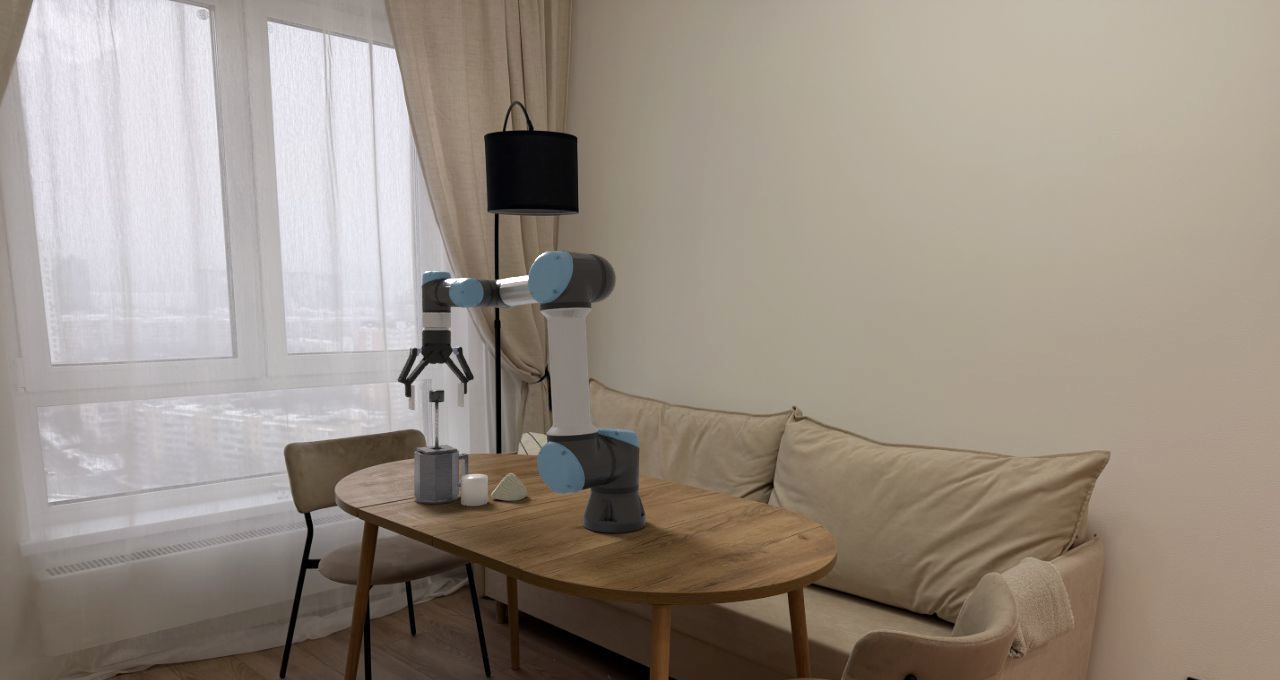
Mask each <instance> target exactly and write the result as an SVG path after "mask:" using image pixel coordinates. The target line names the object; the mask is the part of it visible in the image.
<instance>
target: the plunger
mask: <svg viewBox="0 0 1280 680" xmlns="http://www.w3.org/2000/svg"><path fill="white" fill-rule="evenodd" d="M428 403H434V446H435V449H439V445H440V443H439V441H440V439H439V437H440V436H439V435H440V434H439V431H440V430H439V425H440V421H439V416H440V414H439V413H440V412H439V410H440V409H439V405H440V403H445V390H444V389H429V390H428ZM435 455H438V454H435Z"/></svg>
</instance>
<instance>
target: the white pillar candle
mask: <svg viewBox="0 0 1280 680" xmlns="http://www.w3.org/2000/svg"><path fill="white" fill-rule="evenodd" d="M488 479H489V477H488V475H487V474H483V473H468V475H463V476H462V475H461V476H460V482H461V487H460V504H461V505H462V506H465V505H466V506H467V507H478V506H485V505H487V503H488V497H489V496H488V494H489V493H488V492H489V491H488V484H489V482H488ZM488 504H489V503H488Z"/></svg>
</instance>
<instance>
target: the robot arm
mask: <svg viewBox="0 0 1280 680" xmlns="http://www.w3.org/2000/svg"><path fill="white" fill-rule="evenodd" d="M421 282H422V283H421V286H420V287H421V311H422V313H421V316H422V317H421V318H422V319H421V321H422V322H421V323H422V324H421V327H422V328H423V330H422V331H421V345H422V346H421V348H418V347H413V346H412V347H410V349H409V355H408V357H407V359H406V362H405V364H404V366H403V367H402V370H401V372H400V373H399V376H398V378H397V382H398V383H400V384H403V385H404V396H405V397H406V398H408V410H411V411H415V410H416V409H415V408H416V404H415V401H416V400H415V397H416V396H415V395H416V393H415V392H416V390H415V389H416V388H415V387H416V385H415V384H413V383H414V382H415V381H416V379H417V378H418V377H419V375H420V374H421V373H422V372H423V370H425V368H426V367H427V366H429V364H430V365H436V364H441V365H442V364H446V366H447V367H448V368H449V369H450V370H451V371H452V372H453V374H454V375H455V376H456V378H457V379H459V381H458V382H457V407H461V408H463V407H465V395H467V393H468V383H469V382H470V381H473V380H474V379H475V376H474V375H473V372H472V370H471V368H470V366H469V364H468V362H467V360H466V358H465V356H464V349H463V347H462V346H455V347H452V331H451V330H450V328H451V327H452V314H451V313H452V308H463V309H464V308H466V309H467V308H498V309H499V308H500V309H508V308H515V307H516V306H522V305H531V304H539V312H540V314H541V315H543V316H544V317H545V319H546V320H547V334H548V335H547V337H548V338H547V339H548V355H549V372H550V373H549V374H550V391H551V392H550V395H551V411H552V412H551V413H552V414H551V416H552V426H551V427H550V428H549V429H548V431H547V432H546V443H545V444H544V445H543V446H541V447H540V449H539V451H538V453H537V458H536V465H537V470H538V473H539V477H540V478H541V480H542V482H543V483H544V484H546V486H547V488H548V489H550V490H551V491H553V492H555V493H557V494H561V495H564V494H570V493H571V494H572V493H573V494H576V493H578V492H581V491H583V490H585V491H586V490H588V489H589V490H590V491H589V495H588V498H587V502H586V505H585V508H584V512H583V514H582V526H583V527H584V528H585V529H587V530H590V531H594V532H599V533H609V534H610V533H613V534H614V533H615V534H617V533H629V532H635V531H639V530H641V529H643V528H645V527H646V525H647V524H646V523H647V520H646V519H647V516H646V512H645V508H644V504H643V501H642V498H641V495H640V490H639V489H640V487H639V486H640V450H641V447H640V437H639V435H638V433H637V432H635V431H634V430H630V429H629V430H628V429H622V428H612V427H596V426H595V425H593V423H592V419H591V402H590V401H591V400H590V399H591V398H590V396H591V395H590V383H589V381H590V380H589V365H588V364H589V361H588V341H587V327H586V326H587V325H586V323H587V322H586V318H587V316H588V314H590V312H591V311H592V310H593V309H592V304H597V303H601V302H603V301H605V300H606V299H608V298H609V297H610V296H611V294H612V293H613V291H614V289H615V287H616V283H617V275H616V271H615V268H614V267H613V265H612V264H611V262H610V261H609V259H606V258H605V257H603V256H601V255H599V254H594V253H583V252H576V251H575V252H574V251H569V250H568V251H567V250H548V251H545V252H543V253H541V254H540V255H539V256H538V257H536V258H535V260H534V262H533V263H532V264H531V266H530V268H529V271H528V274H527V275H521V276H515V277H508V278H501V279H484V278H483V279H480V278H473V277H472V278H471V277H460V278H459V277H458V278H452V275H451V273H450V272H449V271H440V270H439V271H436V270H435V271H434V270H433V271H430V270H429V271H425V272H423V273H422V281H421ZM452 353H453V354H454V356H455V357H456V360H457V361H458V363H459V366H460V368H461V370H462V371H461V370H460V369H459V367H458V366H457V364H455V363H454V361H453V359H452V358H451V355H452ZM420 354H421V356H423V357H422V359H421V360H420V361H419V363H418V364H417V365H416V367H415V368H414V369H413V370H412V367H413V366H414V363H415V361H416V359H417V357H418V356H419V355H420ZM411 370H412V371H411ZM410 372H411V373H410Z"/></svg>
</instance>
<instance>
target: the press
mask: <svg viewBox="0 0 1280 680" xmlns="http://www.w3.org/2000/svg"><path fill="white" fill-rule="evenodd" d="M435 454H438V455H435ZM413 456H414V462H413V463H414V465H413V466H414V467H413V468H414V490H413V492H414V495H413V496H414V497H415V498H414V499H415V502H416V503H418V504H424V505H440V504H441V505H443V504H448V503H453V502H455V501H457V500H458V499H459V495H460V488H461V481H460V461H461V476H463V475H468V474H469V454H468V453H466V452H464V453H463V452H462V453H461V454H460V450H459V449H458V448H455V447H453V446H451V445H449V444H442V445H440V444H439V449H435V445H429V446H427V445H426V446H421V447H418V446H417V447H416V450H415V451H414V455H413Z"/></svg>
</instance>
